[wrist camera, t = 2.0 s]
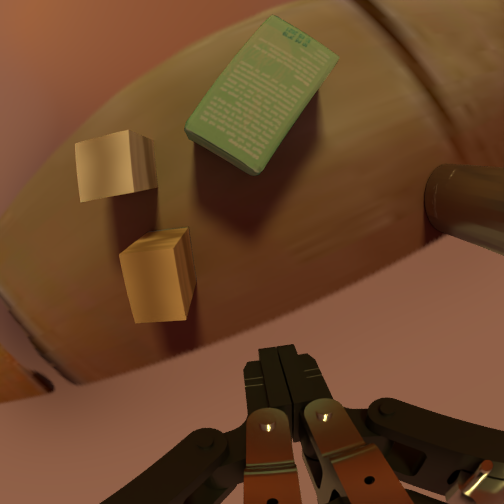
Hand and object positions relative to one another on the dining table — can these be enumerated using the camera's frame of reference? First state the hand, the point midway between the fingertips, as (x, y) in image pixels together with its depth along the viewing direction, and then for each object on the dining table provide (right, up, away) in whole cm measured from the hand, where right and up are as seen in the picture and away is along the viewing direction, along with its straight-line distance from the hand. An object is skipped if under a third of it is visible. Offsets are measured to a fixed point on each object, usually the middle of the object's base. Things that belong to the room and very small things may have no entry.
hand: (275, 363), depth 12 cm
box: (-1, +20, +16) cm, 25 cm away
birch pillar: (-13, +14, +16) cm, 25 cm away
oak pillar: (-10, +4, +19) cm, 21 cm away
